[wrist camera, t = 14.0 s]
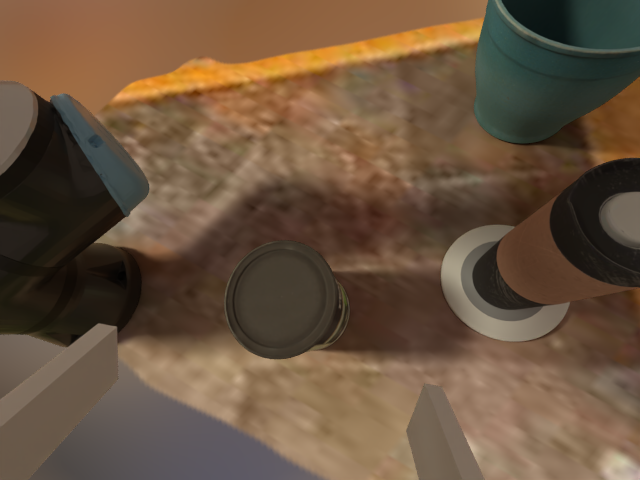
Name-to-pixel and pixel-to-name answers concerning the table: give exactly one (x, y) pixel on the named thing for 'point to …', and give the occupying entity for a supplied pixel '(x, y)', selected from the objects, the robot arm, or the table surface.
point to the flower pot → (552, 63)
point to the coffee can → (285, 301)
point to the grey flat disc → (478, 310)
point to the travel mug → (570, 244)
